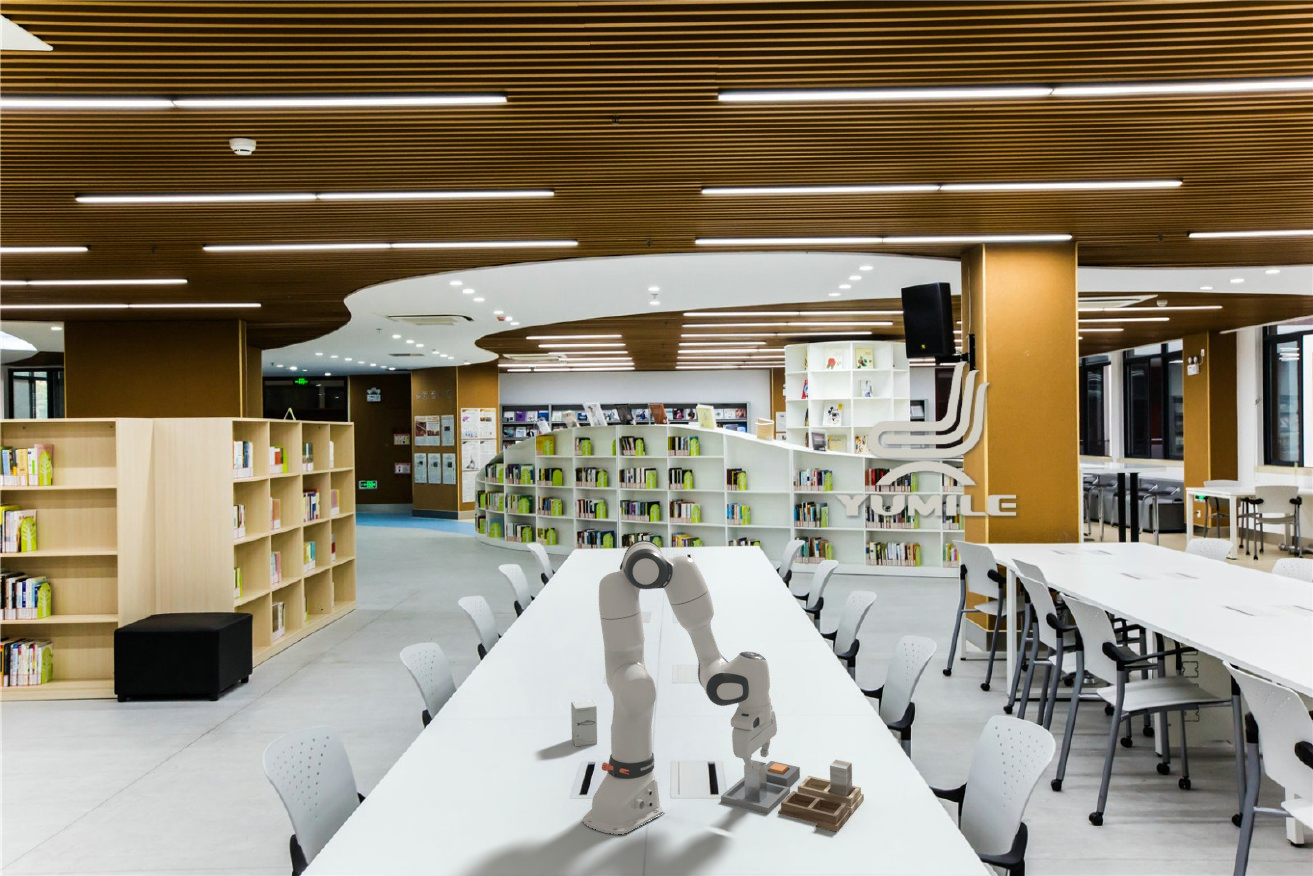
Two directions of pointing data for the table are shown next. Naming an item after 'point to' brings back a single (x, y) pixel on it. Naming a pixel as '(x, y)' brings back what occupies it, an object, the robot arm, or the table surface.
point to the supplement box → (584, 722)
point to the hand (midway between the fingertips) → (757, 762)
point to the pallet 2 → (815, 810)
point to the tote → (766, 805)
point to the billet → (755, 782)
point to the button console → (784, 779)
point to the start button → (778, 768)
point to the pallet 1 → (825, 792)
